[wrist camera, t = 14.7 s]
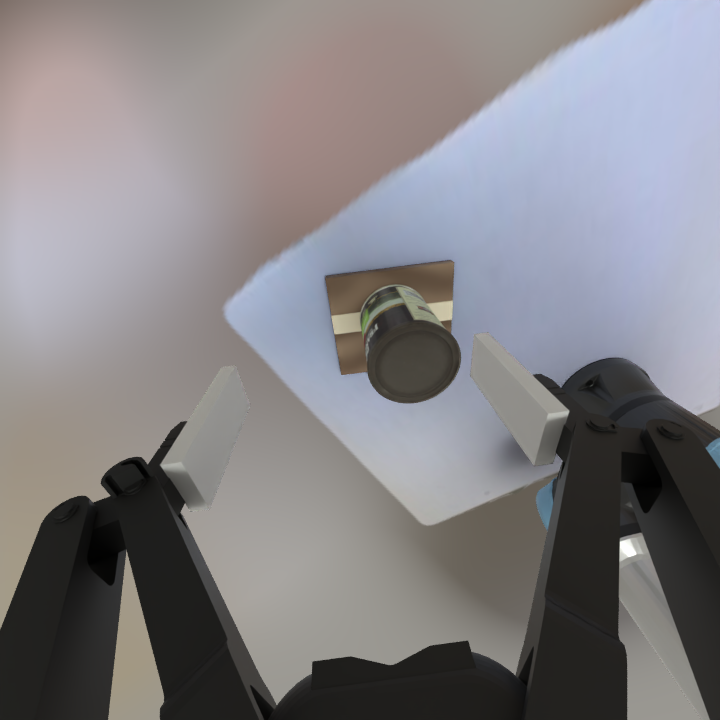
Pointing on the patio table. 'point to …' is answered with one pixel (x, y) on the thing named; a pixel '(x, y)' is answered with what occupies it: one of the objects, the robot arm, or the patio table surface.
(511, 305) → the patio table surface
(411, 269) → the board
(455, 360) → the coffee can
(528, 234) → the patio table surface
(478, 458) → the patio table surface
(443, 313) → the strip
